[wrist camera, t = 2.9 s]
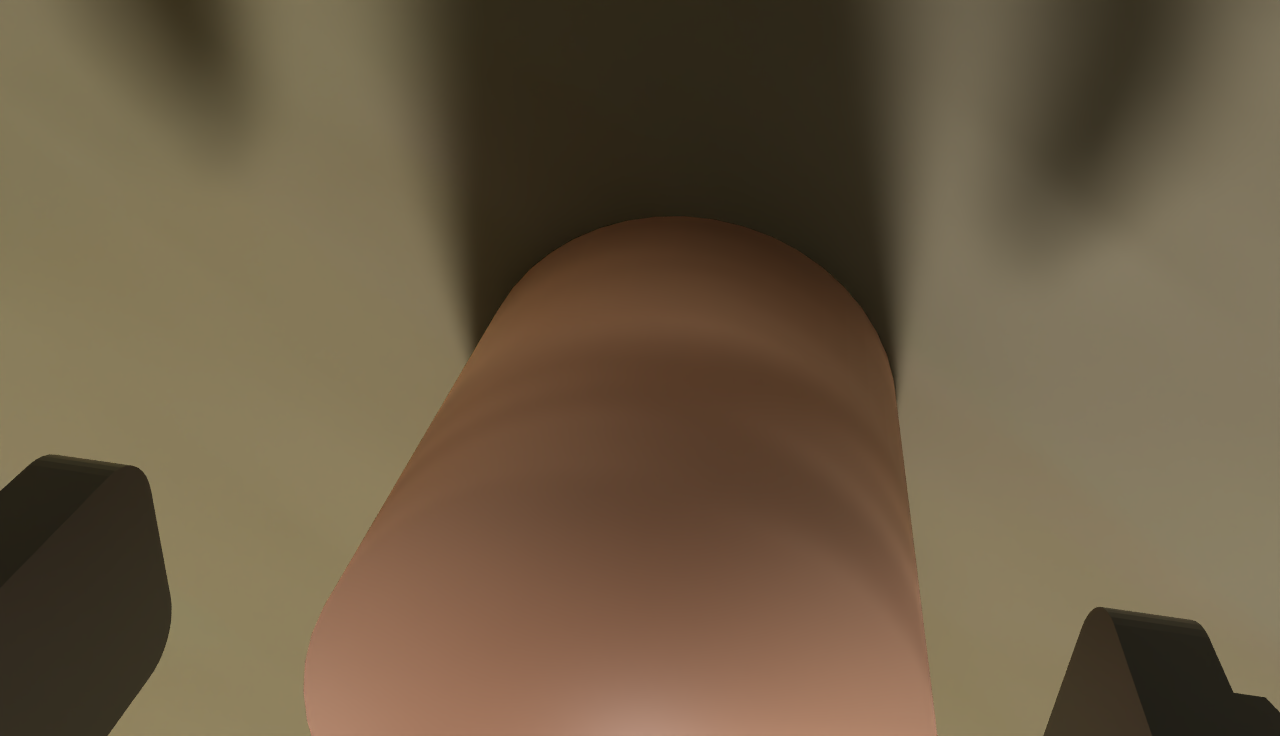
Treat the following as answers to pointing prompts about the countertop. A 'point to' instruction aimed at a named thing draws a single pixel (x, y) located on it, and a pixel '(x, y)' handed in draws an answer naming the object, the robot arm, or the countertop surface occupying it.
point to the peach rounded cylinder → (644, 515)
